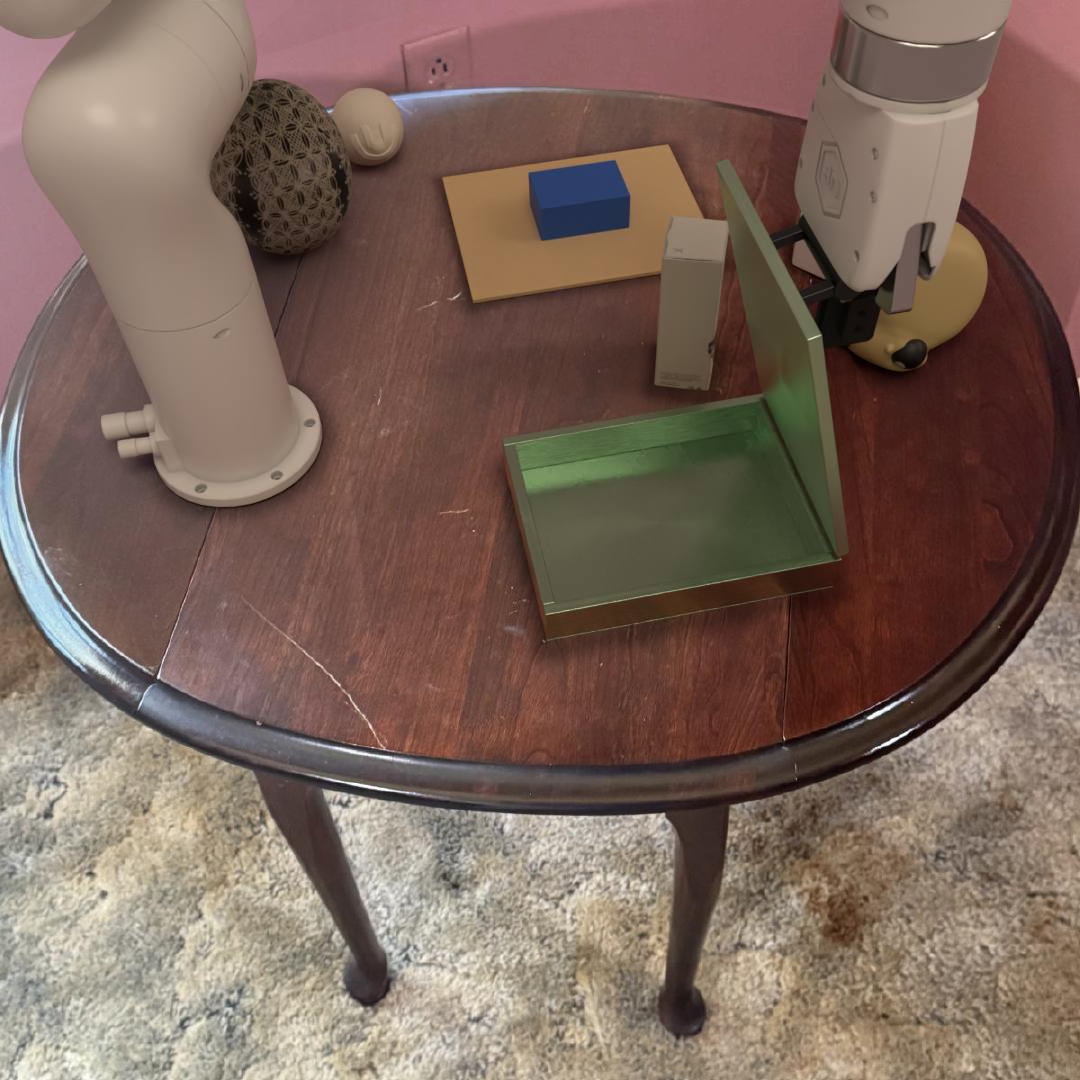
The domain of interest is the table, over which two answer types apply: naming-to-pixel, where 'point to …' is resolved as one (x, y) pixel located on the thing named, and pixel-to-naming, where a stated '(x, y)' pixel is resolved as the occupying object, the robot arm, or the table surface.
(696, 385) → the box
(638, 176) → the placemat
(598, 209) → the block
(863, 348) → the tan pug toy
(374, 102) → the cream embossed ball
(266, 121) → the decorative egg
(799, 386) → the lunchbox lid
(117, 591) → the table surface
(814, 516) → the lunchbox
